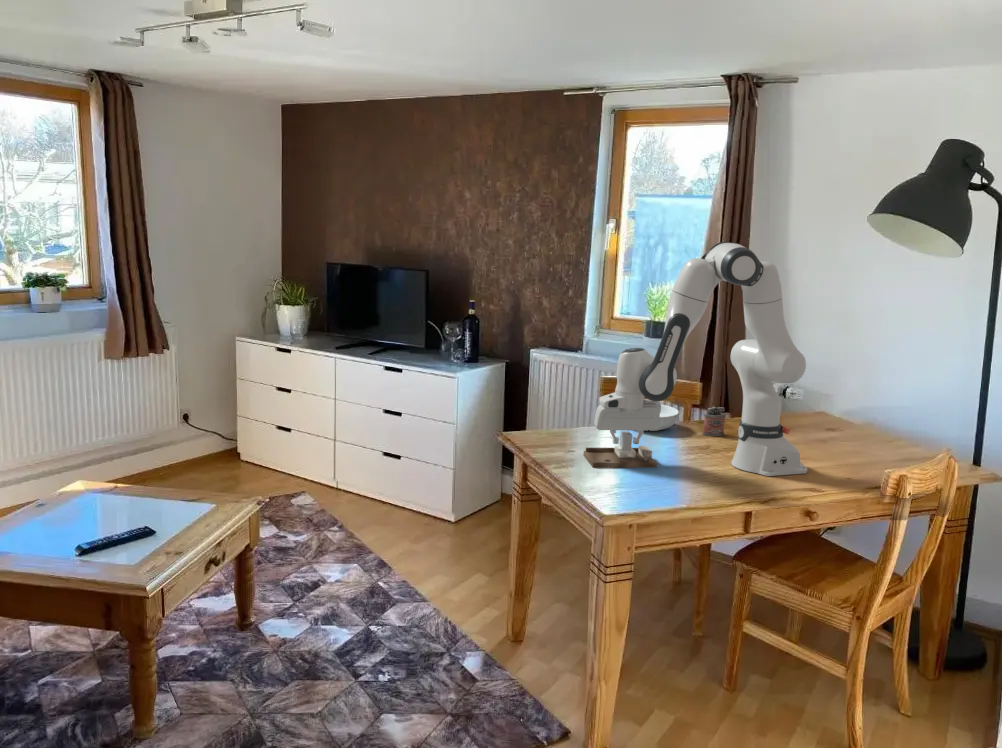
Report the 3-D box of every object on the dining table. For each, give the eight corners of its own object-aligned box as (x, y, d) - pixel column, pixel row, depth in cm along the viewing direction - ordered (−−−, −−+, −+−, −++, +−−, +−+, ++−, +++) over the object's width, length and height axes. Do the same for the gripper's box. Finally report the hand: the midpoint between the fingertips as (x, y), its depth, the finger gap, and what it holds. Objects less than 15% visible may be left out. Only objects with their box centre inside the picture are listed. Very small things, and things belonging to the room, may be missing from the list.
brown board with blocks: (644, 455, 255) (645, 444, 254) (656, 467, 244) (657, 455, 243) (583, 455, 252) (584, 444, 252) (592, 467, 241) (593, 455, 240)
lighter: (704, 436, 282) (707, 408, 280) (700, 433, 285) (703, 406, 283) (725, 435, 283) (728, 408, 281) (720, 433, 287) (723, 405, 285)
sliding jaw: (629, 451, 253) (631, 430, 251) (638, 460, 244) (640, 438, 242) (614, 451, 252) (615, 430, 251) (622, 460, 243) (624, 438, 242)
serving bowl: (608, 421, 296) (609, 403, 294) (657, 418, 303) (659, 401, 302) (637, 437, 277) (638, 417, 275) (688, 433, 284) (690, 414, 283)
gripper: (658, 398, 250) (654, 440, 253) (594, 397, 248) (591, 440, 250) (665, 403, 244) (661, 446, 247) (599, 402, 241) (596, 446, 244)
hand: (625, 443), depth 249 cm, fingers open, 5 cm apart
